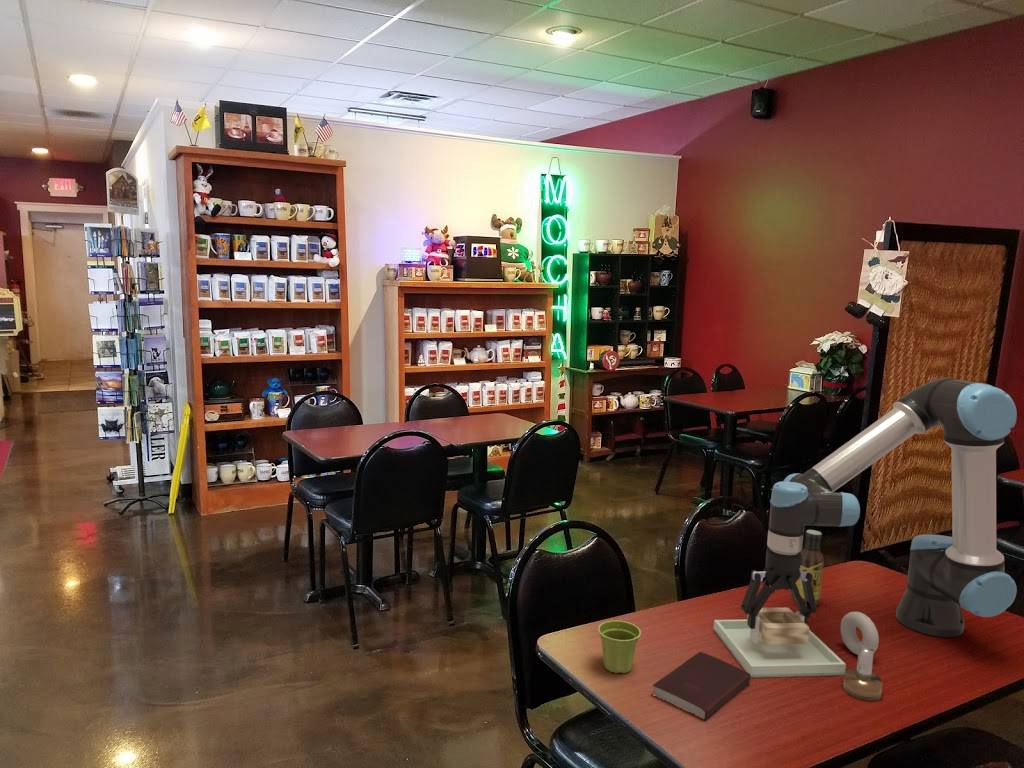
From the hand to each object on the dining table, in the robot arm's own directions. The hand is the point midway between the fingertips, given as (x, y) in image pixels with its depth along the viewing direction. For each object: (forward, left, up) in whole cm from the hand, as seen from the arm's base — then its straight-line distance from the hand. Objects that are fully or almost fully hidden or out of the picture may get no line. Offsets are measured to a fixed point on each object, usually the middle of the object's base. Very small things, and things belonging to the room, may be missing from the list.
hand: (775, 640), depth 166 cm
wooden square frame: (0, 0, +2) cm, 2 cm away
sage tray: (0, 0, -3) cm, 3 cm away
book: (+23, +15, -3) cm, 28 cm away
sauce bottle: (-21, -25, -3) cm, 33 cm away
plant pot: (+39, +5, -3) cm, 39 cm away
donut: (-19, +2, -3) cm, 19 cm away
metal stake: (-11, +17, -3) cm, 21 cm away
